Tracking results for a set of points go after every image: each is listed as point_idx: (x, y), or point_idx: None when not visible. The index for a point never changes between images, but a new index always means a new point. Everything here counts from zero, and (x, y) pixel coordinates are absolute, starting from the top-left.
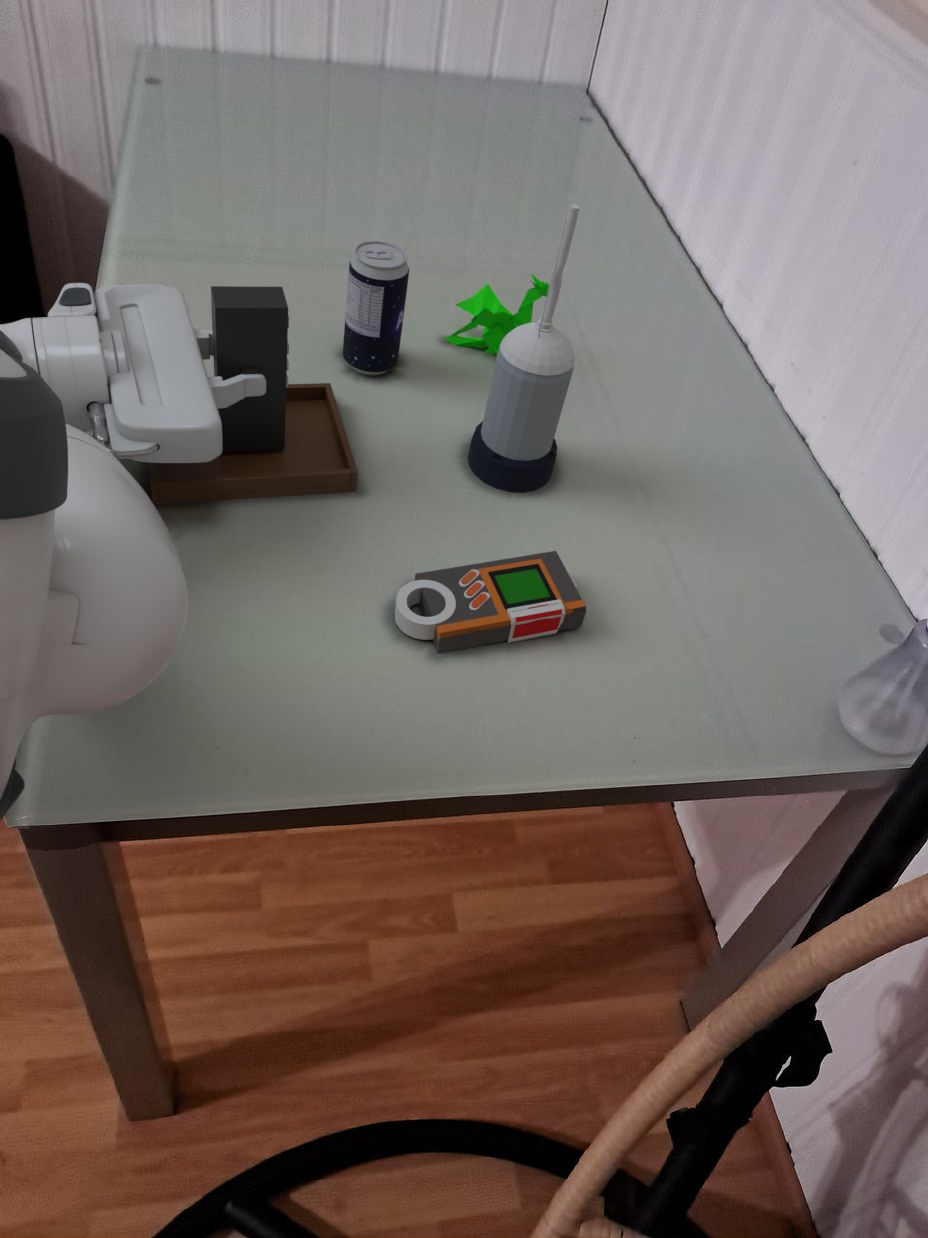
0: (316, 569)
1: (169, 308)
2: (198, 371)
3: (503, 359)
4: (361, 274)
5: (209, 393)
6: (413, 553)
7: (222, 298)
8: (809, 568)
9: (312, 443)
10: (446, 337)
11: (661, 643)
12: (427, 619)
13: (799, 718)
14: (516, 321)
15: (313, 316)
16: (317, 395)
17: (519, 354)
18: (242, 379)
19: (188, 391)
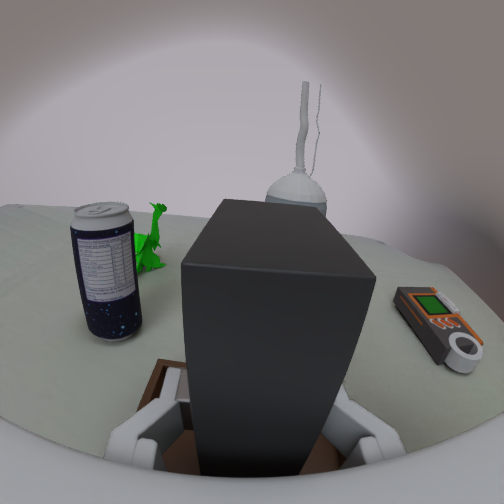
0: (439, 424)
1: (9, 466)
2: (396, 474)
3: (304, 205)
4: (107, 229)
5: (465, 436)
6: (398, 362)
7: (296, 254)
8: (353, 244)
9: None
10: None
11: (419, 285)
12: (477, 346)
13: (435, 268)
14: (152, 239)
15: (29, 334)
16: (162, 380)
17: (315, 193)
18: (355, 402)
19: (480, 473)
